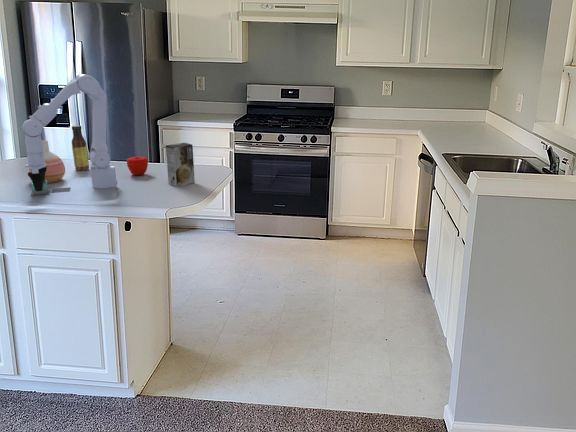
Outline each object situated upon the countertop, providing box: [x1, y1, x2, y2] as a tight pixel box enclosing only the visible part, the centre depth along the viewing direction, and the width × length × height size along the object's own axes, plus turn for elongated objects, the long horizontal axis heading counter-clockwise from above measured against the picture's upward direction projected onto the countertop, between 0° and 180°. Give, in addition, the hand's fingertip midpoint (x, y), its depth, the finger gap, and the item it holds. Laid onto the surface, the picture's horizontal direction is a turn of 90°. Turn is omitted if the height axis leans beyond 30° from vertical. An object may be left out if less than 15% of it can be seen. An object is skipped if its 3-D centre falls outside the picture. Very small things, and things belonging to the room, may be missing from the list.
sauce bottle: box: [71, 125, 90, 172], centre depth 255 cm, size 7×6×20 cm
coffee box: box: [165, 142, 196, 187], centre depth 229 cm, size 9×6×16 cm
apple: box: [126, 156, 149, 176], centre depth 246 cm, size 9×9×8 cm
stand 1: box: [30, 190, 52, 197], centre depth 212 cm, size 7×7×1 cm
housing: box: [30, 180, 49, 196], centre depth 211 cm, size 5×5×4 cm
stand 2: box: [50, 187, 71, 194], centre depth 216 cm, size 7×7×1 cm
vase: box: [28, 139, 66, 184], centre depth 229 cm, size 14×14×18 cm
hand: (40, 188), depth 211 cm, fingers open, 7 cm apart
